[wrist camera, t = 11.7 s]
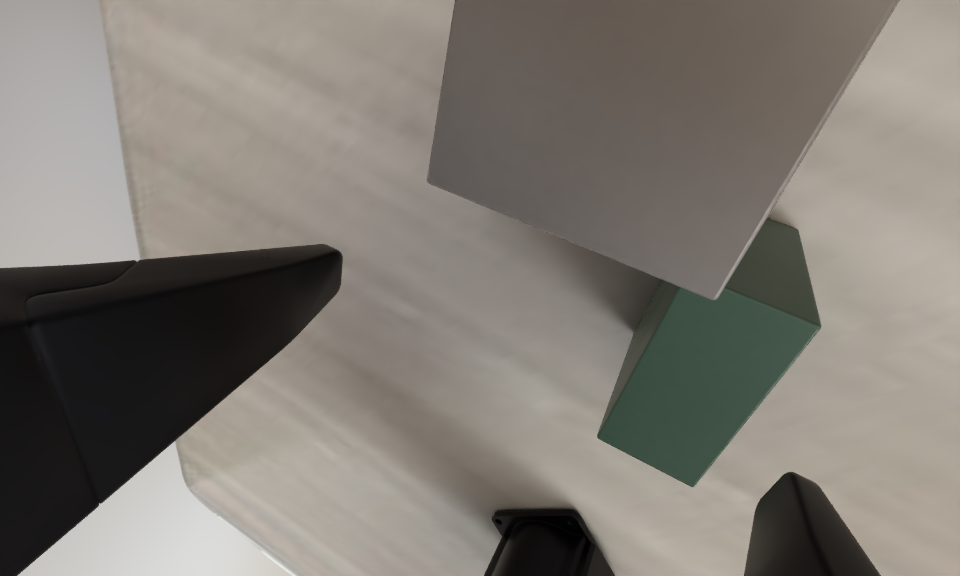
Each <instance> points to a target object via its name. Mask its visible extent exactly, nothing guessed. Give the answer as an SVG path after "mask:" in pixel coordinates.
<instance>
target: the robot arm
mask: <svg viewBox="0 0 960 576" xmlns="http://www.w3.org/2000/svg"><path fill="white" fill-rule="evenodd" d="M342 262H343V256H342V254H341V252H340V251H339V250H336V249H334V248H332V247H330V246H328V245H325V244H318V245H306V246H295V247H283V248H272V249H260V250H249V251H237V252H226V253H214V254H202V255H191V256H179V257H168V258H156V259H145V260H139V261H138V262H136V261H135V260H132V261H121V262H109V263H96V264H83V265H82V264H81V265H63V266H43V267H18V268H0V576H17V575H18V574H20V573H21V572H22V571H23V570H24V569H25V568H27V567H28V566H29V565H30V564H31V563H32V562H34V561H35V560H36V559H37V558H38V557H39V556H41V555H42V554H43V553H44V552H45V551H47V550H48V549H49V548H50V547H51V546H52V545H54V544H55V543H56V542H57V541H58V540H59V539H61V538H62V537H63V536H64V535H65V534H67V533H68V531H70V530H71V529H72V528H74V527H75V526H76V525H77V524H78V523H79V522H81V521H82V520H83V519H84V518H85V517H86V516H88V515H89V514H90V513H91V512H92V511H94V510H95V509H96V508H97V507H98V506H99V503H103V502H104V501H105V500H106V499H107V498H108V497H110V496H111V495H112V494H113V493H114V492H115V491H117V490H118V489H119V488H120V487H121V486H122V485H124V484H125V483H126V482H127V481H128V480H130V478H132V477H133V476H134V475H135V474H137V473H138V472H139V471H140V470H141V469H142V468H144V467H145V466H146V465H147V464H148V463H149V462H151V461H152V460H153V459H154V458H155V457H156V456H158V455H159V454H160V453H161V452H162V451H163V450H165V449H166V448H167V447H168V446H169V445H171V444H172V443H173V442H174V441H175V440H176V439H178V438H179V437H180V436H181V435H182V434H184V433H185V432H186V431H187V430H188V429H189V428H191V427H192V426H193V425H194V424H195V423H196V422H198V421H199V420H200V419H201V418H202V417H203V416H205V415H206V414H207V413H208V412H209V411H211V410H212V409H213V408H214V407H215V406H216V405H218V404H219V403H220V402H221V401H222V400H223V399H225V398H226V397H227V396H228V395H229V394H230V393H232V392H233V391H234V390H235V389H236V388H238V387H239V386H240V385H241V384H242V383H243V382H245V381H246V380H247V379H248V378H249V377H250V376H252V375H253V374H254V373H255V372H256V371H257V370H259V369H260V368H261V367H262V366H263V365H265V364H266V363H267V362H268V361H269V360H270V359H272V358H273V357H274V356H275V355H276V354H277V353H279V352H280V351H281V350H282V349H283V348H284V347H285V346H287V345H288V344H289V343H290V342H291V341H292V340H293V339H294V338H295V337H296V336H297V335H298V334H299V333H300V332H301V331H302V330H303V329H304V328H305V327H306V326H307V325H308V324H309V322H310V321H311V320H312V319H313V318H314V317H315V316H316V315H317V314H318V313H319V312H320V311H321V310H322V309H323V308H324V307H325V306H326V305H327V304H328V302H329V301H330V300H331V299H332V298H333V297H334V296H335V295H336V294H337V292H338V291H339V289H340V286H341V276H342ZM492 521H493V523H494V524H495V526H496V527H497V529H498V531H499V532H500V534H501V536H502V538H501V540H500V543H499V545H498V547H497V549H496V551H495V553H494V555H493V557H492V559H491V562H490V564H489V566H488V568H487V570H486V572H485V574H484V576H614V574H613V573H612V571H611V569H610V567H609V566H608V564H607V562H606V560H605V558H604V557H603V555H602V553H601V551H600V550H599V548H598V546H597V544H596V543H595V541H594V539H593V537H592V536H591V534H590V532H589V530H588V529H587V527H586V525H585V523H584V522H583V520H582V518H581V516H580V515H579V514H578V513H577V512H575V511H573V510H537V511H496V512H495V513H494V515H493V517H492ZM744 576H881V575H880V574H879V572H878V571H877V570H876V568H875V567H874V565H873V564H872V562H871V561H870V559H869V558H868V556H867V555H866V554H865V552H864V551H863V549H862V548H861V546H860V545H859V543H858V542H857V540H856V539H855V538H854V536H853V535H852V533H851V532H850V530H849V529H848V527H847V526H846V525H845V523H844V522H843V520H842V519H841V517H840V516H839V514H838V513H837V511H836V510H835V509H834V507H833V506H832V504H831V503H830V501H829V500H828V498H827V497H826V495H825V494H824V493H823V491H822V490H821V488H820V487H819V486H818V485H817V484H816V483H814V482H813V481H810V480H808V479H806V478H804V477H802V476H800V475H798V474H796V473H794V472H788V473H786V474H784V475H783V476H782V477H781V478H780V479H779V480H778V481H777V482H776V483H775V484H774V485H773V486H772V487H771V489H770V490H769V491H768V492H767V493H766V494H765V495H764V496H763V497H762V498H761V499H760V501H759V503H758V505H757V507H756V510H755V515H754V521H753V527H752V532H751V538H750V544H749V550H748V555H747V561H746V567H745V573H744Z"/></svg>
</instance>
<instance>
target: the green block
mask: <svg viewBox="0 0 960 576" xmlns="http://www.w3.org/2000/svg"><path fill="white" fill-rule="evenodd" d="M820 329H821V323H820V319H819V314H818V310H817V306H816V302H815V298H814V294H813V289H812V285H811V281H810V277H809V273H808V269H807V264H806V260H805V256H804V252H803V248H802V243H801V239H800V235H799V231H798V229H796V228H793V227H790V226H787V225H785V224H782V223H779V222H776V221H773V220H771V219H768V218H767V219H766V220H765V222H764V223H763V225H762V227H761V228H760V230H759V232H758V233H757V235H756V237H755V238H754V240H753V241H752V243H751V245H750V246H749V248H748V250H747V251H746V253H745V255H744V256H743V258H742V260H741V261H740V263H739V264H738V266H737V268H736V269H735V271H734V273H733V274H732V276H731V278H730V279H729V281H728V282H727V284H726V286H725V287H724V289H723V291H722V292H721V294H720V296H719V297H718V298H717V299H716V300H710V299H708V298H706V297H703V296H701V295H698V294H696V293H693V292H691V291H689V290H686V289H684V288H681V287H679V286H676V285H674V284H672V283H669V282H667V281H664V280H661V282H660V284H659V286H658V288H657V289H656V291H655V293H654V295H653V297H652V299H651V301H650V303H649V305H648V307H647V309H646V311H645V313H644V315H643V317H642V319H641V321H640V323H639V324H638V326H637V328H636V330H635V332H634V334H633V337H632V340H631V343H630V346H629V348H628V351H627V354H626V357H625V359H624V362H623V365H622V368H621V371H620V373H619V376H618V379H617V382H616V385H615V387H614V390H613V393H612V396H611V398H610V401H609V404H608V407H607V410H606V412H605V415H604V418H603V421H602V423H601V426H600V429H599V432H598V435H597V438H598V439H600V440H602V441H604V442H606V443H608V444H610V445H612V446H614V447H616V448H617V449H619V450H621V451H623V452H625V453H627V454H629V455H631V456H633V457H635V458H637V459H639V460H641V461H643V462H644V463H646V464H648V465H650V466H652V467H654V468H656V469H658V470H660V471H662V472H664V473H666V474H668V475H670V476H672V477H673V478H675V479H677V480H679V481H681V482H683V483H685V484H687V485H689V486H691V487H694V486H695V485H696V484H697V482H698V481H699V480H700V479H701V477H702V476H703V475H704V474H705V472H706V471H707V470H708V469H709V467H710V466H711V465H712V464H713V462H714V461H715V460H716V459H717V457H718V456H719V455H720V454H721V452H722V451H723V450H724V449H725V447H726V446H727V445H728V444H729V442H730V441H731V440H732V439H733V437H734V436H735V435H736V434H737V432H738V431H739V430H740V429H741V427H742V426H743V425H744V424H745V422H746V421H747V420H748V419H749V417H750V416H751V415H752V414H753V412H754V411H755V410H756V409H757V407H758V406H759V405H760V404H761V402H762V401H763V400H764V399H765V397H766V396H767V395H768V394H769V392H770V391H771V390H772V389H773V387H774V386H775V385H776V384H777V382H778V381H779V380H780V379H781V377H782V376H783V375H784V374H785V372H786V371H787V370H788V369H789V367H790V366H791V365H792V364H793V362H794V361H795V360H796V359H797V357H798V356H799V355H800V354H801V352H802V351H803V350H804V349H805V347H806V346H807V345H808V344H809V342H810V341H811V340H812V339H813V337H814V336H815V335H816V334H817V332H818V331H819V330H820Z"/></svg>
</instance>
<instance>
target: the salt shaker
mask: <svg viewBox="0 0 960 576" xmlns="http://www.w3.org/2000/svg"><path fill="white" fill-rule="evenodd" d="M899 1H900V0H455V4H454V10H453V17H452V23H451V30H450V36H449V43H448V49H447V55H446V62H445V68H444V75H443V81H442V87H441V94H440V100H439V107H438V113H437V120H436V126H435V132H434V139H433V145H432V152H431V158H430V164H429V171H428V177H427V182H428V183H429V184H431V185H434V186H436V187H439V188H441V189H443V190H446V191H448V192H451V193H453V194H456V195H458V196H460V197H463V198H465V199H468V200H470V201H473V202H475V203H477V204H480V205H482V206H485V207H487V208H490V209H492V210H494V211H497V212H499V213H502V214H504V215H507V216H509V217H511V218H514V219H516V220H519V221H521V222H524V223H526V224H528V225H531V226H533V227H536V228H538V229H541V230H543V231H545V232H548V233H550V234H553V235H555V236H558V237H560V238H562V239H565V240H567V241H570V242H572V243H575V244H577V245H579V246H582V247H584V248H587V249H589V250H592V251H594V252H596V253H599V254H601V255H604V256H606V257H609V258H611V259H613V260H616V261H618V262H621V263H623V264H625V265H628V266H630V267H633V268H635V269H638V270H640V271H642V272H645V273H647V274H650V275H652V276H655V277H657V278H659V279H662V280H664V281H667V282H669V283H672V284H674V285H676V286H679V287H681V288H684V289H686V290H689V291H691V292H693V293H696V294H698V295H701V296H703V297H706V298H708V299H710V300H716V299H717V298H718V297H719V296H720V294H721V292H722V291H723V289H724V287H725V286H726V284H727V282H728V281H729V279H730V278H731V276H732V274H733V273H734V271H735V269H736V268H737V266H738V264H739V263H740V261H741V260H742V258H743V256H744V255H745V253H746V251H747V250H748V248H749V246H750V245H751V243H752V241H753V240H754V238H755V237H756V235H757V233H758V232H759V230H760V228H761V227H762V225H763V223H764V222H765V220H766V219H767V217H768V215H769V214H770V212H771V210H772V209H773V207H774V205H775V204H776V202H777V200H778V199H779V197H780V196H781V194H782V192H783V191H784V189H785V187H786V186H787V184H788V182H789V181H790V179H791V178H792V176H793V174H794V173H795V171H796V169H797V168H798V166H799V164H800V163H801V161H802V160H803V158H804V156H805V155H806V153H807V151H808V150H809V148H810V146H811V145H812V143H813V141H814V140H815V138H816V137H817V135H818V133H819V132H820V130H821V128H822V127H823V125H824V123H825V122H826V120H827V119H828V117H829V115H830V114H831V112H832V110H833V109H834V107H835V105H836V104H837V102H838V101H839V99H840V97H841V96H842V94H843V92H844V91H845V89H846V87H847V86H848V84H849V82H850V81H851V79H852V78H853V76H854V74H855V73H856V71H857V69H858V68H859V66H860V64H861V63H862V61H863V60H864V58H865V56H866V55H867V53H868V51H869V50H870V48H871V46H872V45H873V43H874V42H875V40H876V38H877V37H878V35H879V33H880V32H881V30H882V28H883V27H884V25H885V23H886V22H887V20H888V19H889V17H890V15H891V14H892V12H893V10H894V9H895V7H896V5H897V4H898V2H899Z"/></svg>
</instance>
